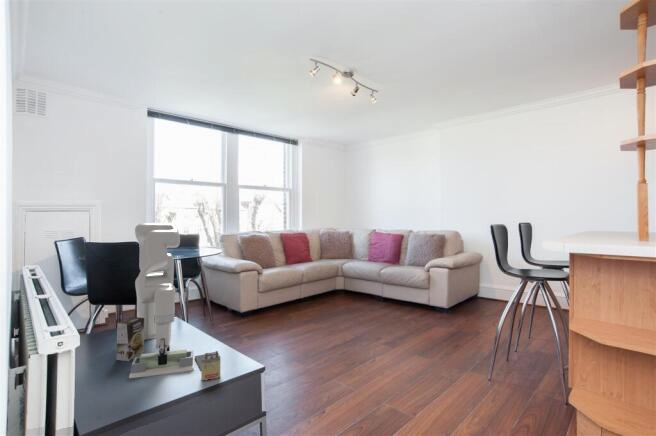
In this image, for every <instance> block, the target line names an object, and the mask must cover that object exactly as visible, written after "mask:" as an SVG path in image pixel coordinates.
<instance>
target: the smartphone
mask: <svg viewBox="0 0 656 436" xmlns="http://www.w3.org/2000/svg"><path fill="white" fill-rule="evenodd" d="M194 357H195V359H194V362H195V363H196V365H197V366H198V368H199V371H200V372H202V358H204V357H205V353H204V354H200V355H194Z"/></svg>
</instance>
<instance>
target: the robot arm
mask: <svg viewBox="0 0 656 436" xmlns="http://www.w3.org/2000/svg"><path fill="white" fill-rule="evenodd" d="M134 235H135V238H136V240H137V242H138V244H139V245H138V246H139V253H138V254H139V256H138V257H139V258H138V259H139V261H138V262H139V263H138V264H139V265H138V266H139V270H140V272H139V274H138V275H137V277H136V279H135V282H134V284H135V285H134V286H135V292H136V317H138V318H144V341H147V340H152V339H155V345H154V346H155V348H154V349H156V350H158V352H159V354H158V365H166V364H167V354H166V352H167V351H171V350H170V348H171V346H170V343H171V339H172V323H174V322H175V310H176V309H175V308H176V307H175V305H176V304H175V297H176V287H175V285H174V276H175V275H174V274H175V259H174V256H173V255H172V254H171V253H170V252H169V253H168V249H169V248H170V249H173V248H174V249H176V248H178V247H179V246H180V244H181V236H180V232H179V230H178V229H177V227H176V225H174V224H173V223H172V222H171V223H169V222H168V223H167V222H164V223H163V222H161V223H160V222H158V223H156V222H151V223H150V222H144V223H143V222H142V223H139V224H137V225H136V226H135V228H134Z"/></svg>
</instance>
